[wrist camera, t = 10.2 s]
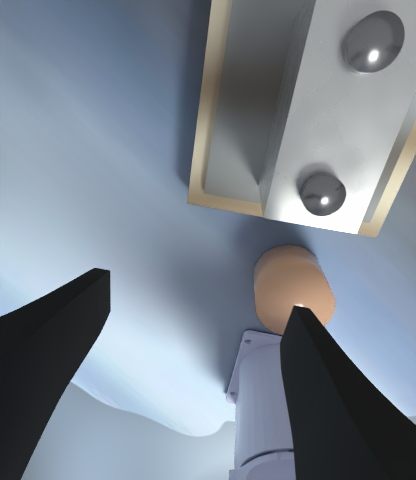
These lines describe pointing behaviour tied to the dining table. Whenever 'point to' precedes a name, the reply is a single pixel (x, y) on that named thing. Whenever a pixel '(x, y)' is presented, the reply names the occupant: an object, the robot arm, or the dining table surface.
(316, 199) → the alloy housing
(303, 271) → the peach rounded cylinder
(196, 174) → the birch plinth
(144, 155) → the dining table surface
